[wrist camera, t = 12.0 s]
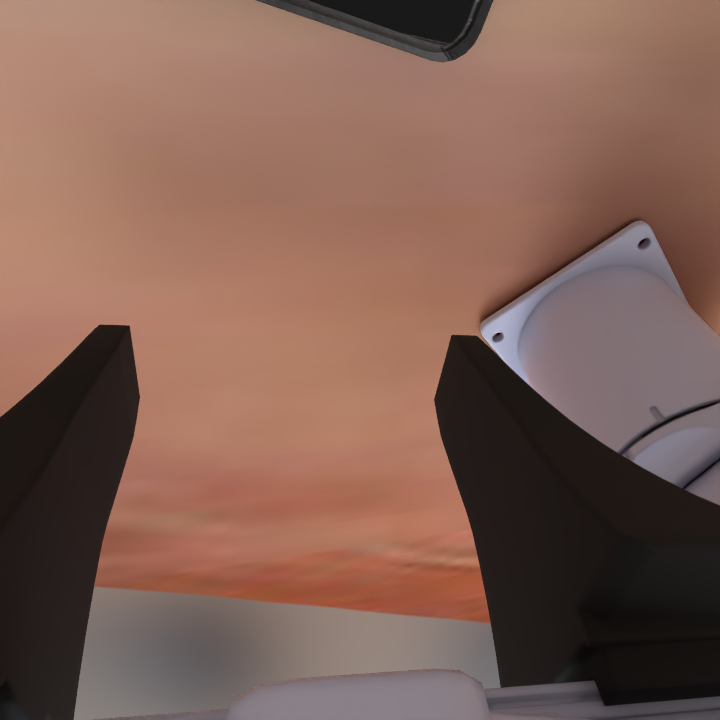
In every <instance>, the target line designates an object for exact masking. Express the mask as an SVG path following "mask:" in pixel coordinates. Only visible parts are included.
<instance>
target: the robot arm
mask: <svg viewBox="0 0 720 720" xmlns="http://www.w3.org/2000/svg"><path fill="white" fill-rule="evenodd" d="M645 238H646V239H645ZM642 239H645V242H643V243H642V244H641V245H638V244H639V242H640V241H641V240H642ZM480 331H481V334H482V336H483V337H484V338H485V340H486V341H487V342H488V343H489V344H490V345H491V347H492V348H493V349H494V350H495V351H496V353H497V354H498V355H499V356H500V357H501V358H500V357H499V356H498V355H497V354H496V353H495V352H494V351H493V350H492V349H491V348H489V347H488V346H487V345H486V344H485V343H484V342H483V341H482V340H481V339H480V338H479V337H477V336H468V335H452V336H451V339H450V343H449V347H448V351H447V354H446V358H445V362H444V365H443V369H442V373H441V377H440V380H439V384H438V388H437V391H436V395H435V399H434V401H435V407H436V413H437V419H438V424H439V429H440V434H441V438H442V441H443V444H444V447H445V450H446V453H447V456H448V459H449V462H450V465H451V468H452V471H453V474H454V477H455V480H456V483H457V486H458V489H459V492H460V495H461V497H462V500H463V503H464V506H465V509H466V512H467V515H468V519H469V522H470V525H471V529H472V532H473V537H474V541H475V546H476V550H477V555H478V559H479V564H480V569H481V574H482V579H483V584H484V589H485V594H486V599H487V604H488V609H489V615H490V621H491V627H492V632H493V639H494V645H495V651H496V657H497V664H498V671H499V678H500V685H501V688H492V689H483V686H482V683H481V682H480V681H478V680H476V679H475V678H473V677H471V676H469V675H467V674H465V673H463V672H462V671H460V670H445V669H423V670H409V671H395V672H380V673H367V674H352V675H338V676H325V677H310V678H296V679H288V680H283V681H277V682H272V683H267V684H261V685H259V686H257V687H255V688H253V689H251V690H249V691H247V692H245V693H243V694H241V695H239V696H238V697H237V698H236V699H235V700H234V701H233V702H232V703H231V705H230V706H229V708H228V709H223V710H210V711H197V712H185V713H172V714H159V715H146V716H134V717H120V718H107V719H95V720H720V336H719V335H718V334H717V333H716V332H715V331H714V330H713V329H712V328H711V327H710V326H709V325H708V324H707V323H706V322H705V321H704V320H703V319H702V318H701V317H700V316H699V315H698V314H697V313H696V312H695V311H694V310H693V309H692V308H691V307H690V306H689V304H688V302H687V300H686V298H685V296H684V294H683V292H682V290H681V288H680V286H679V284H678V282H677V280H676V278H675V276H674V274H673V272H672V270H671V268H670V265H669V263H668V261H667V259H666V257H665V255H664V253H663V251H662V249H661V247H660V245H659V243H658V241H657V239H656V237H655V235H654V233H653V231H652V229H651V227H650V226H649V225H648V224H647V223H646V222H644V221H635V222H633V223H631V224H630V225H628V226H627V227H625V228H624V229H622V230H621V231H619V232H618V233H616V234H615V235H613V236H611V237H610V238H608V239H607V240H605V241H604V242H602V243H601V244H599V245H598V246H596V247H595V248H593V249H592V250H590V251H589V252H587V253H586V254H584V255H583V256H581V257H579V258H578V259H576V260H575V261H573V262H572V263H570V264H569V265H567V266H566V267H564V268H563V269H561V270H560V271H558V272H557V273H555V274H554V275H552V276H550V277H549V278H547V279H546V280H544V281H543V282H541V283H540V284H538V285H537V286H535V287H534V288H532V289H531V290H529V291H528V292H526V293H525V294H523V295H521V296H520V297H518V298H517V299H515V300H514V301H512V302H511V303H509V304H508V305H506V306H505V307H503V308H502V309H500V310H499V311H497V312H496V313H494V314H493V315H491V316H489V317H488V318H486V319H485V320H484V321H483V322H482V323H481V325H480ZM496 333H501V334H500V335H499V336H497V337H493V336H494V335H495V334H496ZM139 399H140V395H139V388H138V381H137V374H136V367H135V360H134V353H133V346H132V339H131V332H130V326H126V325H99V326H98V327H96V328H95V329H94V330H93V331H92V332H91V333H90V334H89V335H88V336H87V337H86V338H85V339H84V340H83V341H82V342H81V343H80V344H79V346H78V347H77V348H76V349H75V350H74V351H73V352H72V353H71V354H70V355H69V356H68V357H67V358H66V359H65V360H64V361H63V362H62V363H61V364H60V365H59V366H58V367H57V368H55V369H54V370H53V371H52V372H51V373H50V374H49V375H48V376H47V377H46V378H45V379H44V380H43V381H42V382H41V383H40V384H39V385H38V386H36V387H35V388H34V389H33V390H32V391H31V392H30V393H29V394H27V395H26V396H25V397H24V398H23V399H22V400H20V401H19V402H18V403H17V404H16V405H15V406H13V407H12V408H11V409H10V410H9V411H7V412H6V413H5V414H4V415H3V416H1V417H0V720H73V719H74V711H75V704H76V696H77V689H78V682H79V675H80V669H81V662H82V656H83V649H84V643H85V636H86V630H87V624H88V618H89V612H90V606H91V601H92V595H93V589H94V583H95V578H96V573H97V567H98V562H99V557H100V552H101V546H102V542H103V538H104V534H105V530H106V526H107V522H108V519H109V516H110V513H111V509H112V506H113V503H114V499H115V496H116V493H117V490H118V486H119V483H120V480H121V477H122V473H123V470H124V467H125V464H126V460H127V457H128V454H129V450H130V447H131V444H132V440H133V436H134V431H135V425H136V419H137V412H138V406H139Z"/></svg>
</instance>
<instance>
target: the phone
mask: <svg viewBox="0 0 720 720" xmlns="http://www.w3.org/2000/svg"><path fill="white" fill-rule="evenodd" d="M257 1H260V2H263V3H266V4H269V5H271V6H274V7H277V8H280V9H283V10H286V11H289V12H292V13H295V14H298V15H301V16H303V17H306V18H309V19H312V20H315V21H318V22H321V23H324V24H327V25H330V26H333V27H335V28H338V29H341V30H344V31H347V32H350V33H353V34H356V35H359V36H362V37H365V38H367V39H370V40H373V41H376V42H379V43H382V44H385V45H388V46H391V47H394V48H397V49H399V50H402V51H405V52H408V53H411V54H414V55H417V56H420V57H423V58H426V59H428V60H431V61H438V62H446V61H451V60H455V59H457V58H458V57H460V56H462V55H464V54H465V53H466V52H467V51H468V50H469V49H470V48H471V47H472V46H473V45H474V44H475V42H476V40H477V38H478V36H479V34H480V33H481V30H482V28H483V25H484V23H485V20H486V17H487V15H488V12H489V10H490V7H491V5H492V2H493V0H257Z"/></svg>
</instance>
